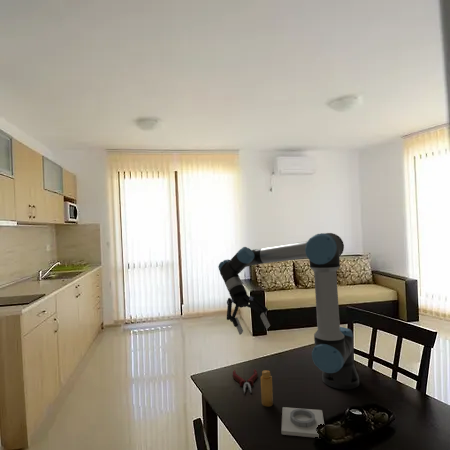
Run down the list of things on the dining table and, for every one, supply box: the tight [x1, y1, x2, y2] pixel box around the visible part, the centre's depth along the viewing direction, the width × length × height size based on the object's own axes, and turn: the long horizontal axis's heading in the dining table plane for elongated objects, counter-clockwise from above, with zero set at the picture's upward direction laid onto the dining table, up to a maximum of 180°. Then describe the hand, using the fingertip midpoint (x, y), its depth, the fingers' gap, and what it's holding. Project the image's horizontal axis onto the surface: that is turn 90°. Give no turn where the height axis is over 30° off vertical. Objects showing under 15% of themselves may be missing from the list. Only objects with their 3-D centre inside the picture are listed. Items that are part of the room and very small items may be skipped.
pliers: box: [232, 369, 258, 395], centre depth 139 cm, size 12×20×3 cm, turn 0°
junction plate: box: [281, 406, 325, 439], centre depth 109 cm, size 14×14×3 cm
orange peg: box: [260, 369, 274, 407], centre depth 123 cm, size 4×4×12 cm
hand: (255, 330), depth 134 cm, fingers open, 13 cm apart
